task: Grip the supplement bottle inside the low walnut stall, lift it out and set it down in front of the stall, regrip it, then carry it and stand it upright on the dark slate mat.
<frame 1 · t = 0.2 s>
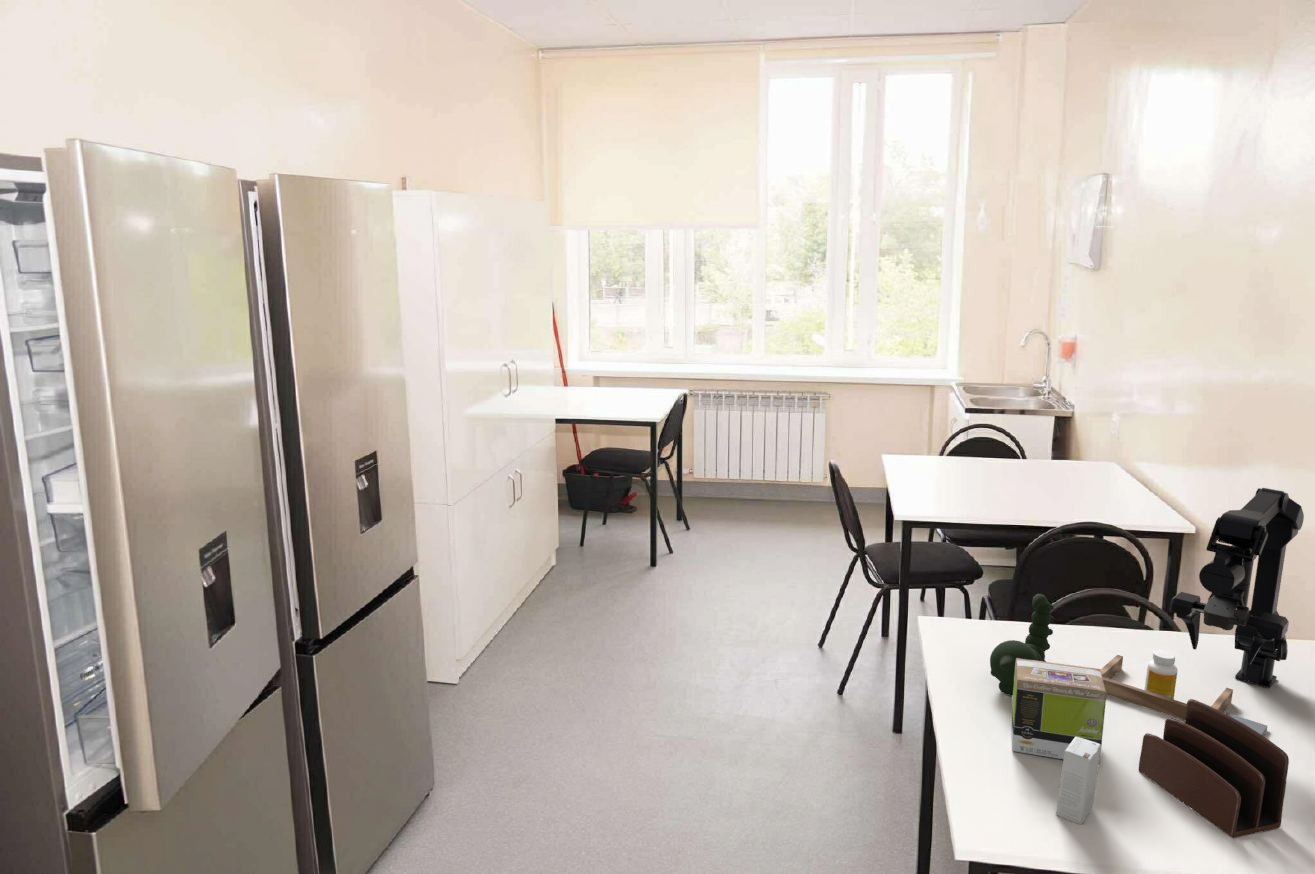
hand: (1221, 656, 178), 14 cm above the table, tool pointing down, fingers open, 9 cm apart
skincare box: (1074, 813, 153), on the table
slate mat: (1239, 732, 178), on the table
walnut stall: (1159, 696, 191), on the table
letter holder: (1205, 799, 157), on the table
supplement bottle: (1158, 698, 191), on the table
tea box: (1052, 746, 173), on the table
toy figurine: (1020, 683, 197), on the table
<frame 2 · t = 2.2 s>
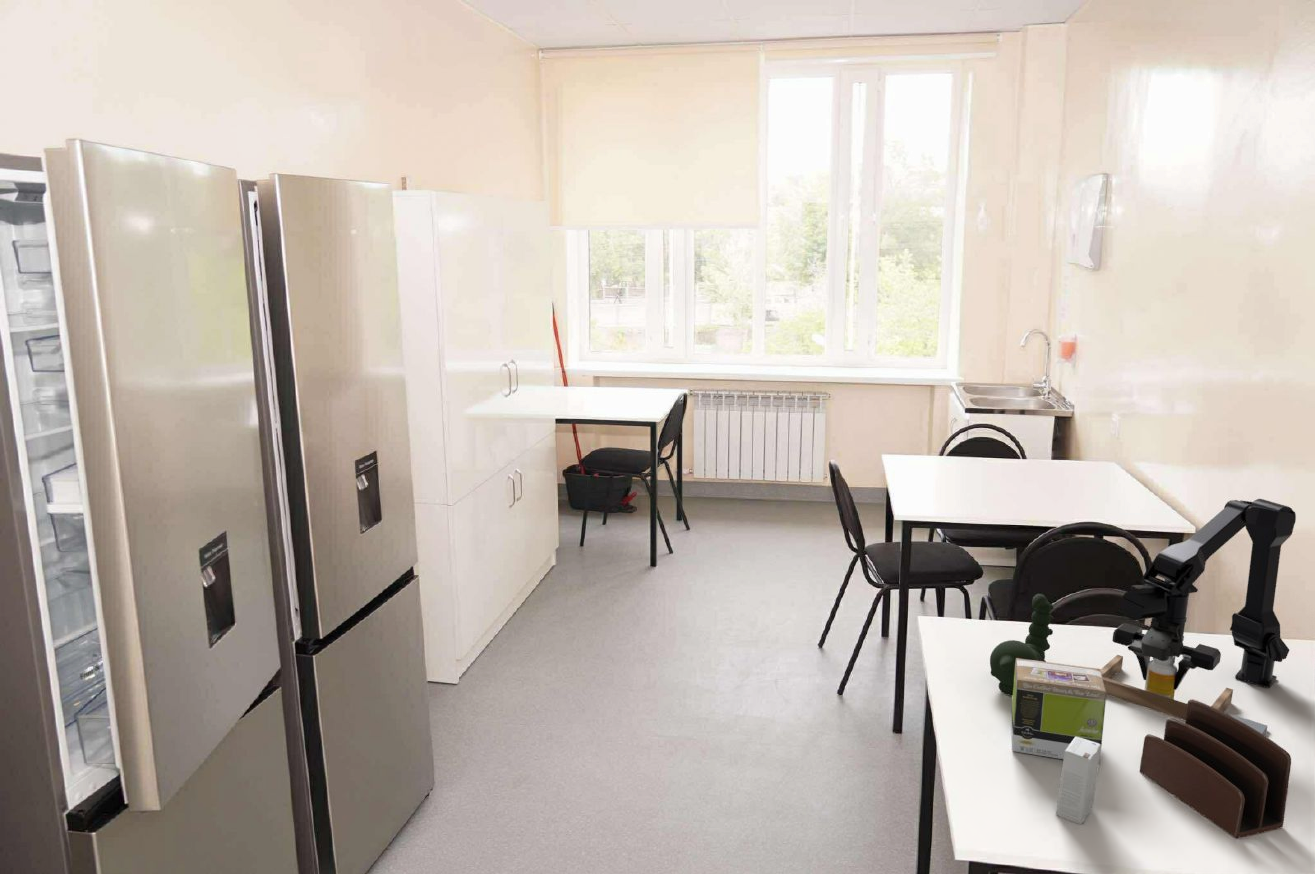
hand: (1160, 684, 191), 3 cm above the table, tool pointing down, fingers closed on supplement bottle, 5 cm apart
supplement bottle: (1158, 698, 191), on the table, touching gripper
everything else where it was.
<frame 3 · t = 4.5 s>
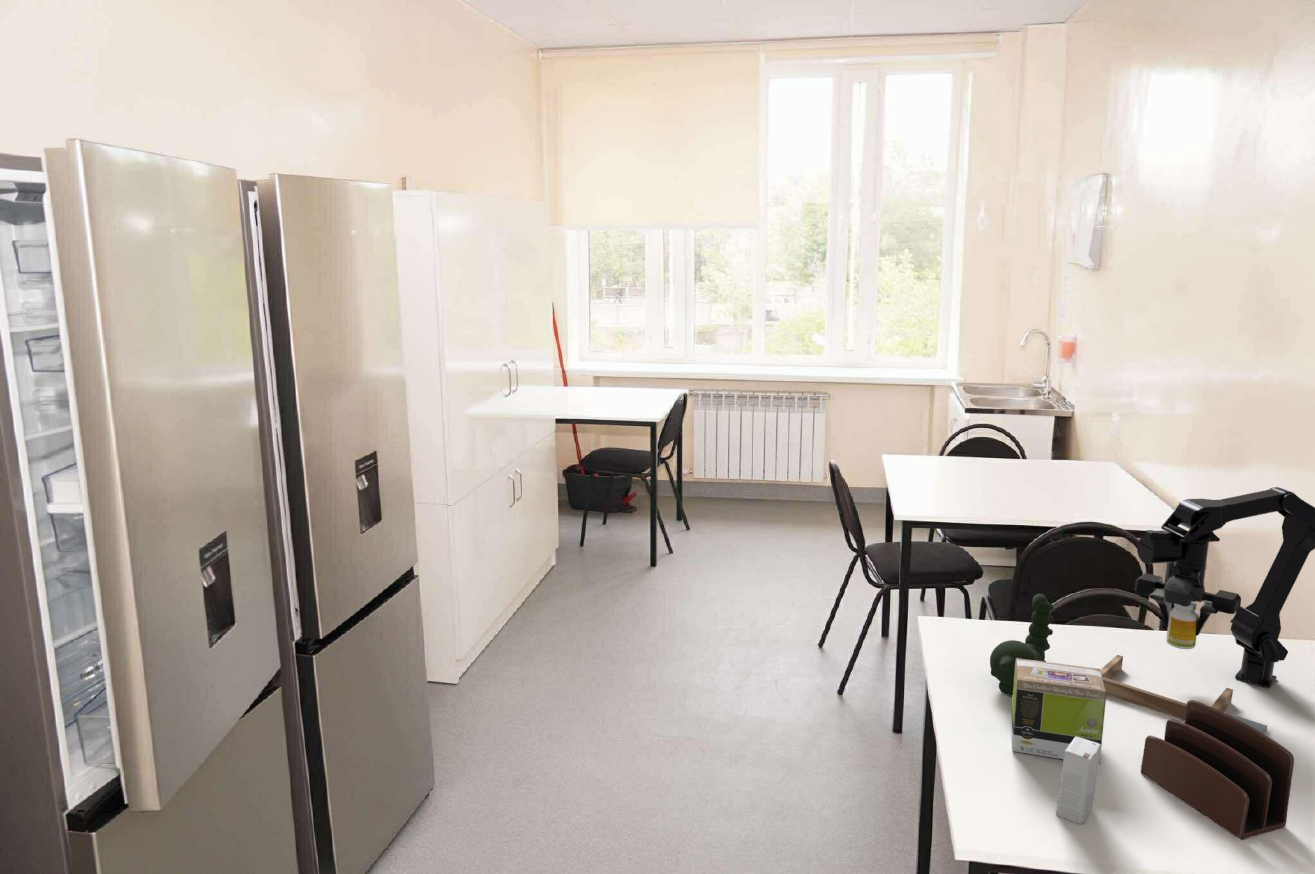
hand: (1182, 630, 195), 12 cm above the table, tool pointing down, fingers closed on supplement bottle, 5 cm apart
supplement bottle: (1180, 645, 196), point 8 cm above the table, touching gripper
everything else where it was.
when the fingers open (4 cm above the table, at t = 7.0 s): supplement bottle stays where it is, on the table.
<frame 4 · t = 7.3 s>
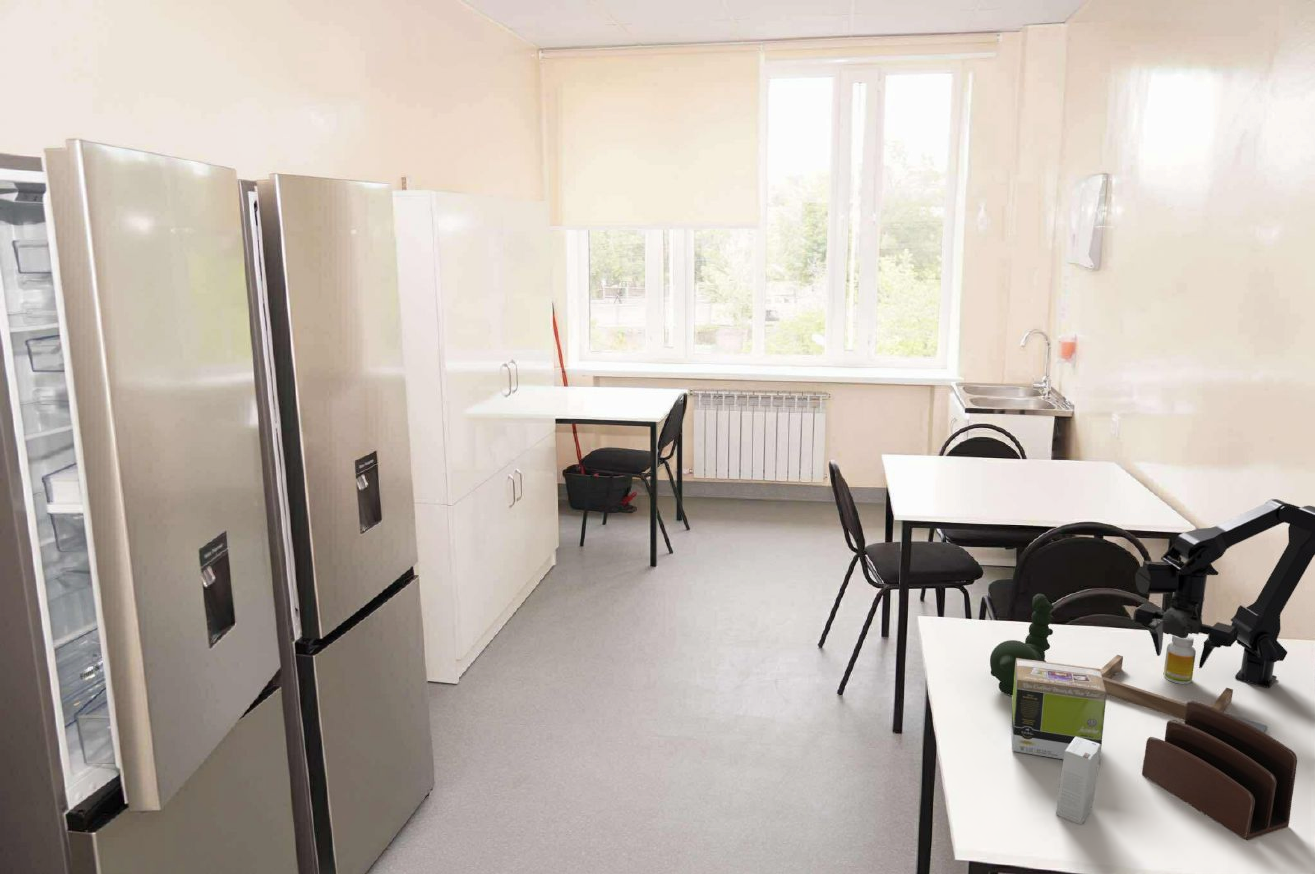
hand: (1179, 661, 199), 4 cm above the table, tool pointing down, fingers open, 8 cm apart
supplement bottle: (1177, 679, 200), on the table
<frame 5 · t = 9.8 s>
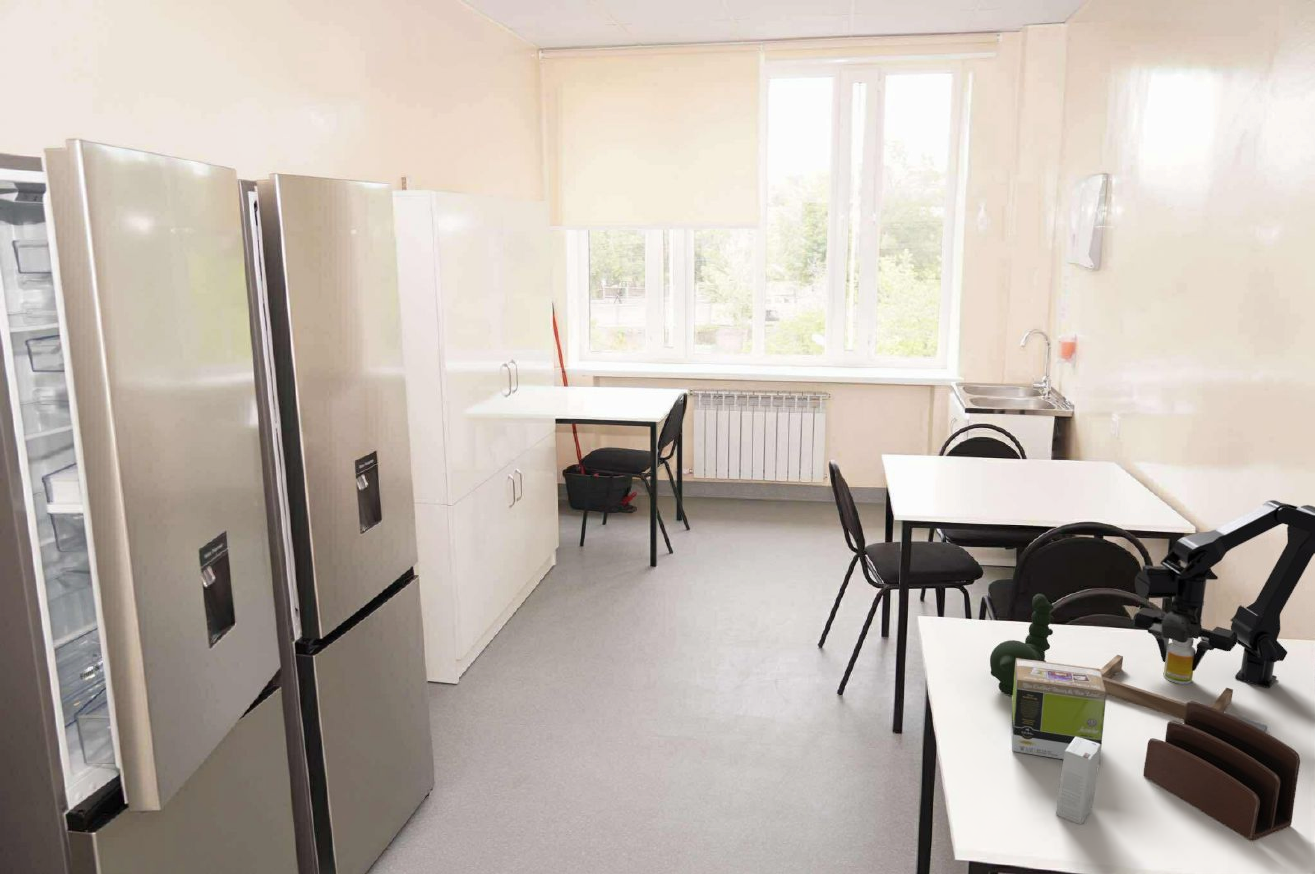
hand: (1179, 665, 199), 3 cm above the table, tool pointing down, fingers closed on supplement bottle, 5 cm apart
supplement bottle: (1177, 679, 200), on the table, touching gripper
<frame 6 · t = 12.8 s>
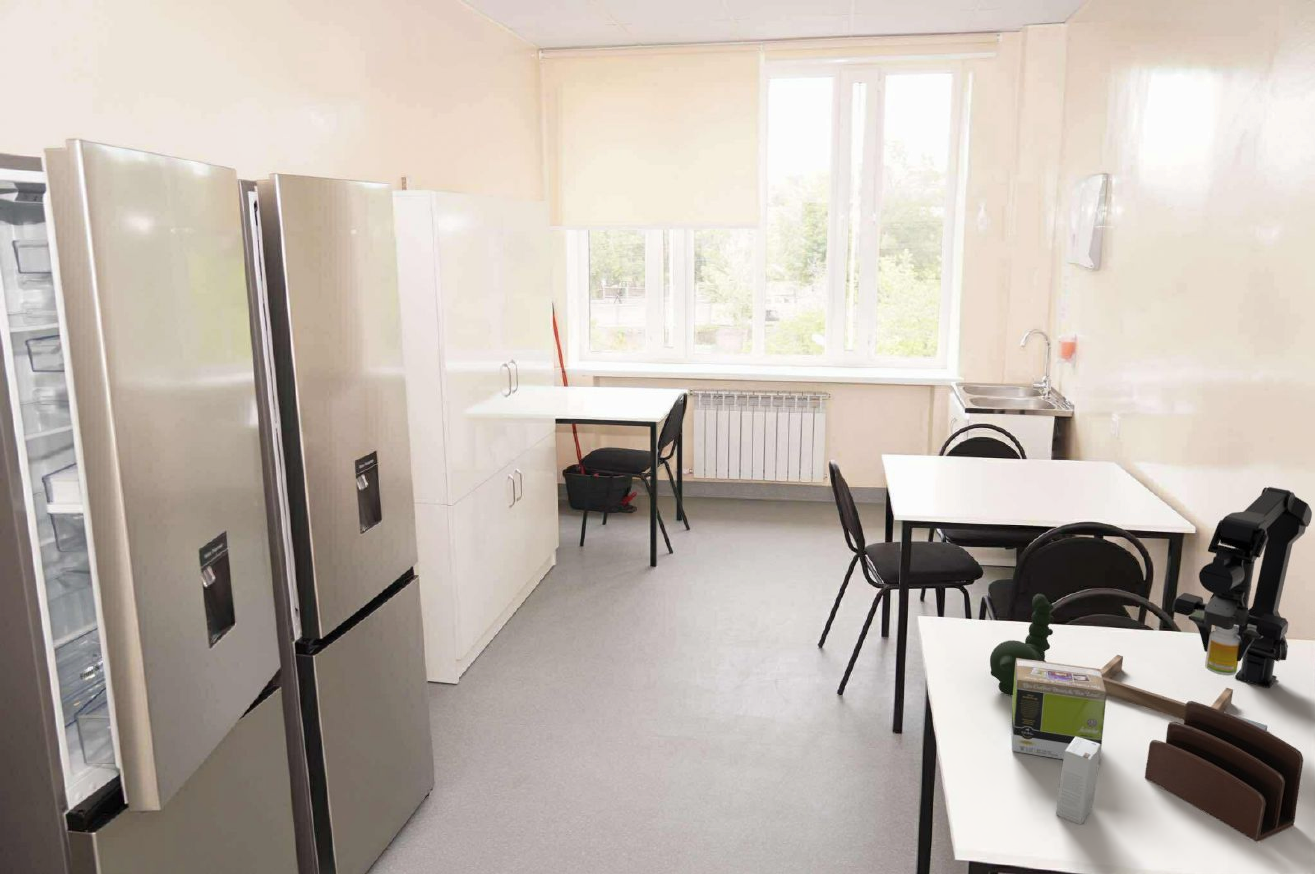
hand: (1222, 655, 183), 12 cm above the table, tool pointing down, fingers closed on supplement bottle, 5 cm apart
supplement bottle: (1220, 670, 183), point 9 cm above the table, touching gripper
when the fingers open (5 cm above the table, at t = 15.6 s): supplement bottle stays where it is, resting on slate mat.
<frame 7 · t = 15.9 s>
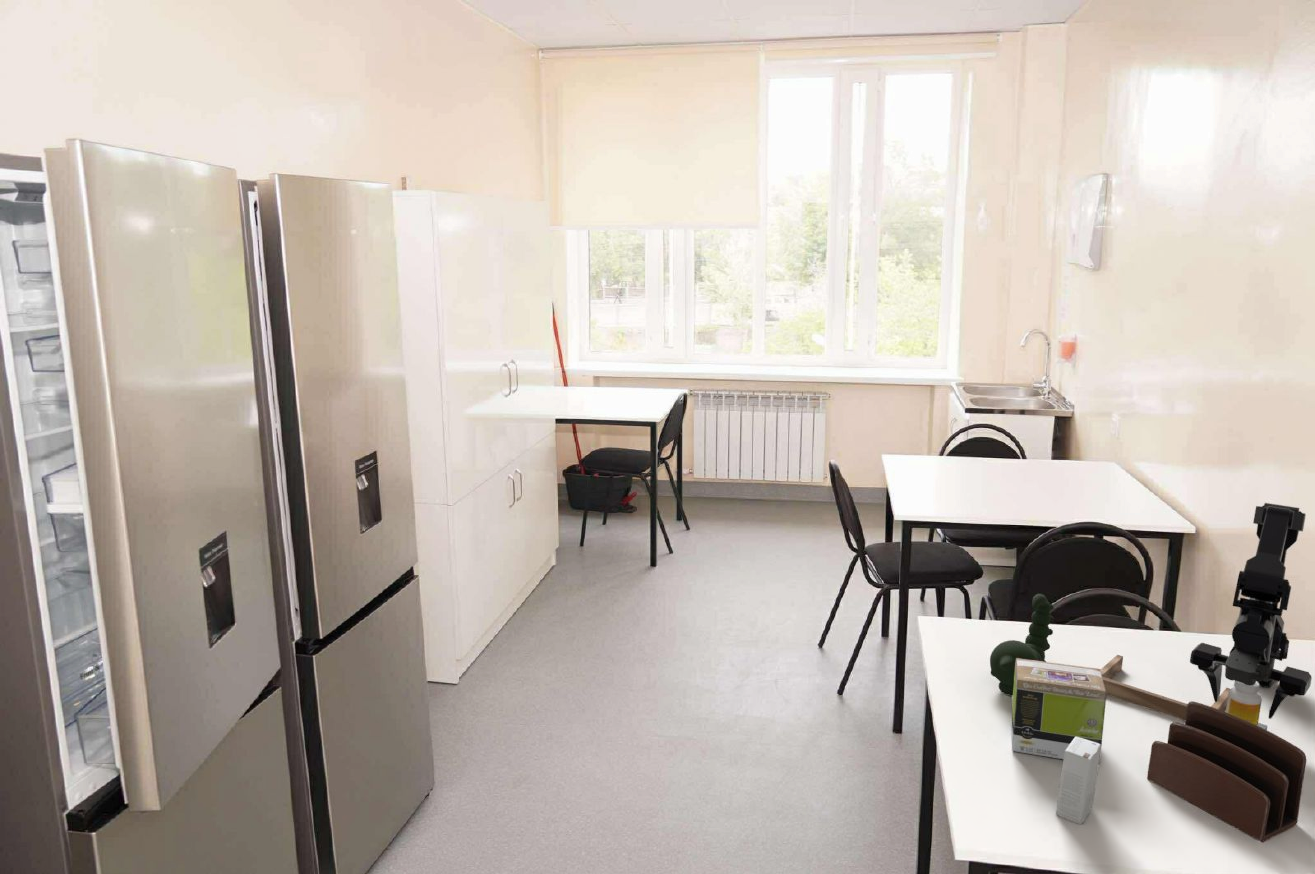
hand: (1242, 709, 177), 5 cm above the table, tool pointing down, fingers open, 9 cm apart
supplement bottle: (1240, 728, 178), point 1 cm above the table, touching slate mat
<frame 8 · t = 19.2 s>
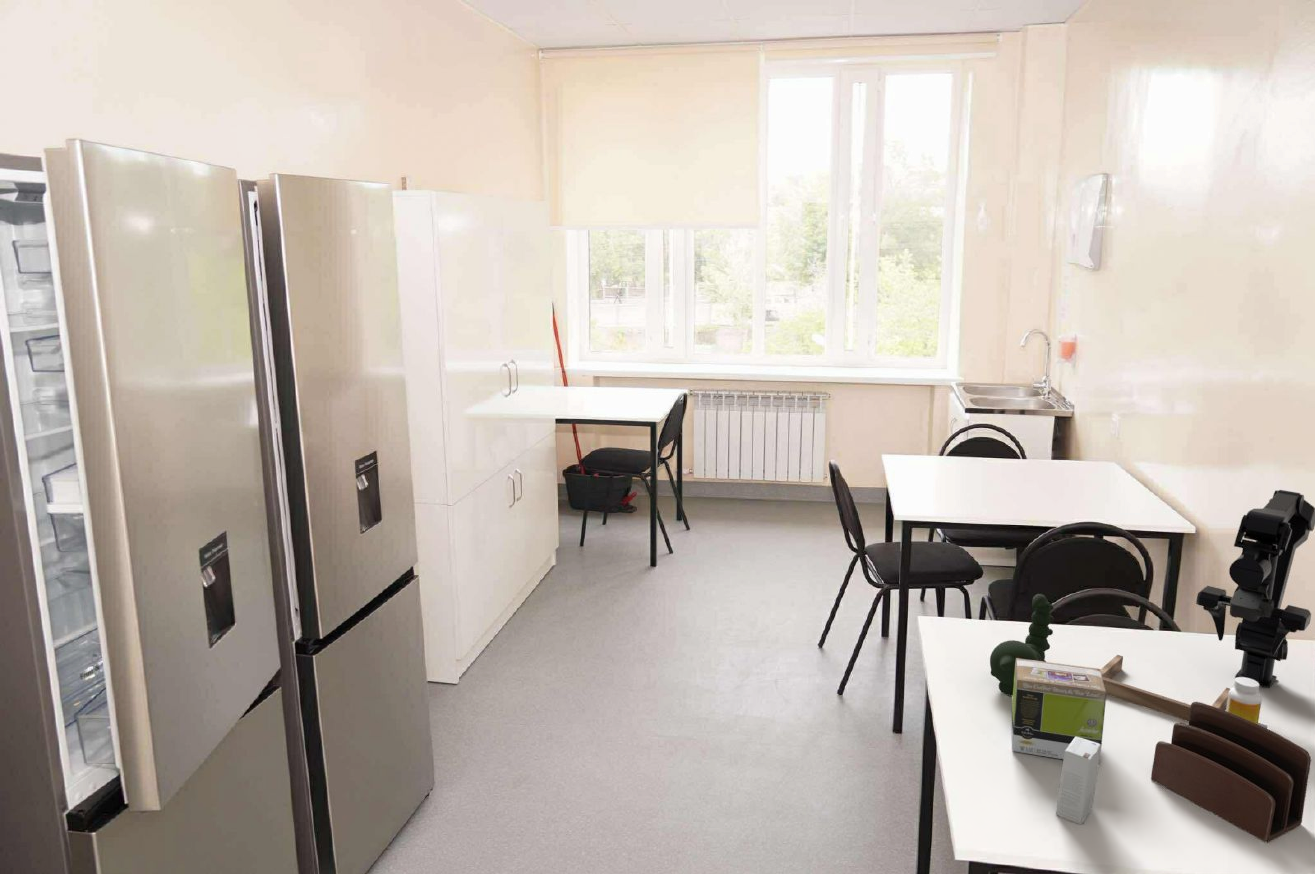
hand: (1246, 646, 187), 12 cm above the table, tool pointing down, fingers open, 9 cm apart
at the end: supplement bottle inside the target area (0.1 cm from its centre), point 0.8 cm above the table; supplement bottle tilted 0°; the gripper is holding nothing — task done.
